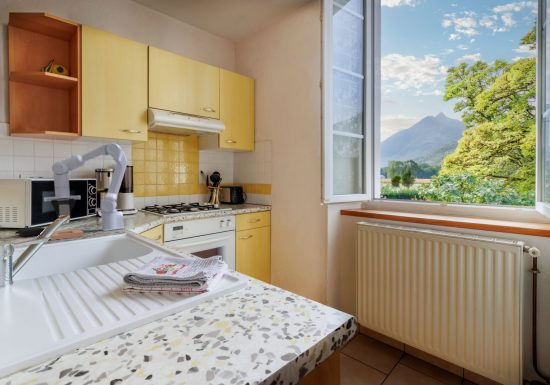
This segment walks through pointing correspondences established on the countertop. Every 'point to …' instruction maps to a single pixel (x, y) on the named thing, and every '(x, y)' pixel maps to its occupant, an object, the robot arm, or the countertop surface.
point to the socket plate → (67, 234)
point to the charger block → (64, 210)
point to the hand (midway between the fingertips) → (63, 215)
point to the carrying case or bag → (30, 231)
